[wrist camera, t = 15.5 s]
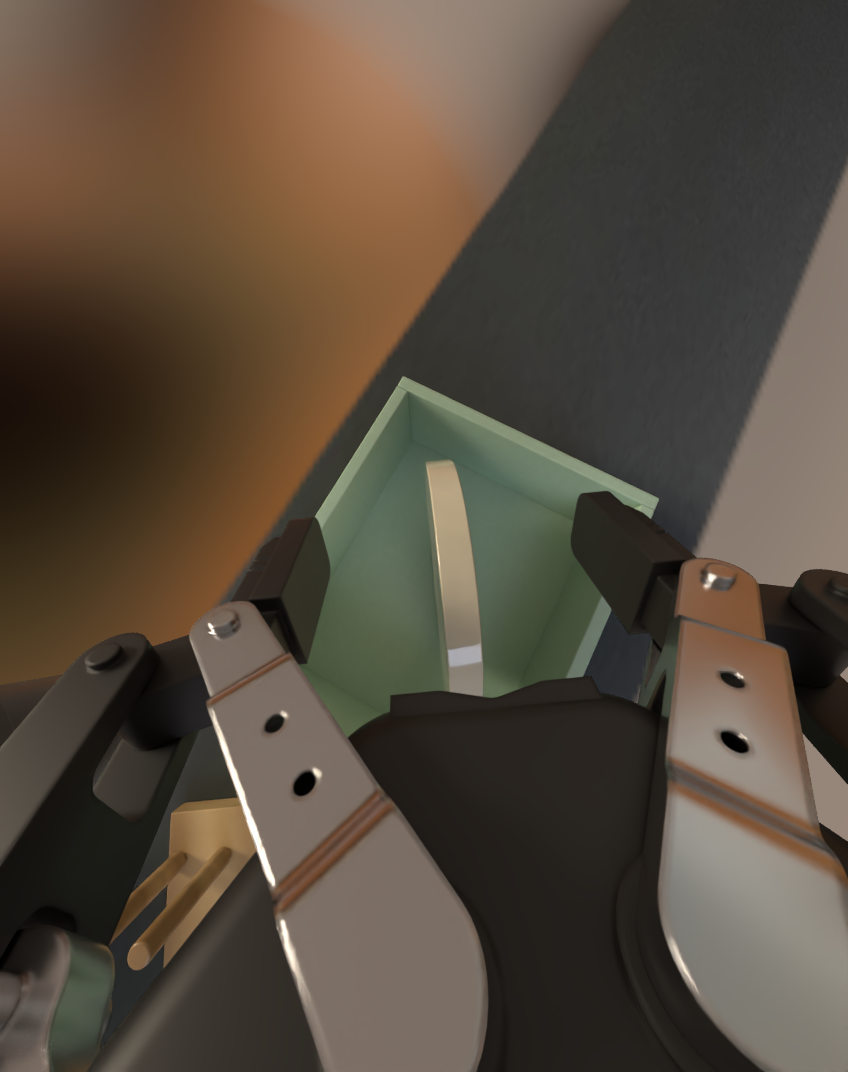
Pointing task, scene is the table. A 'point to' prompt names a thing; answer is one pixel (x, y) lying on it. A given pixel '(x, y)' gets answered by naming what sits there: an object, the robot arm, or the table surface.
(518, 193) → the table surface
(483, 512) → the light green open box
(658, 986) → the robot arm
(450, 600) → the plate
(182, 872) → the dish rack
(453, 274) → the table surface
